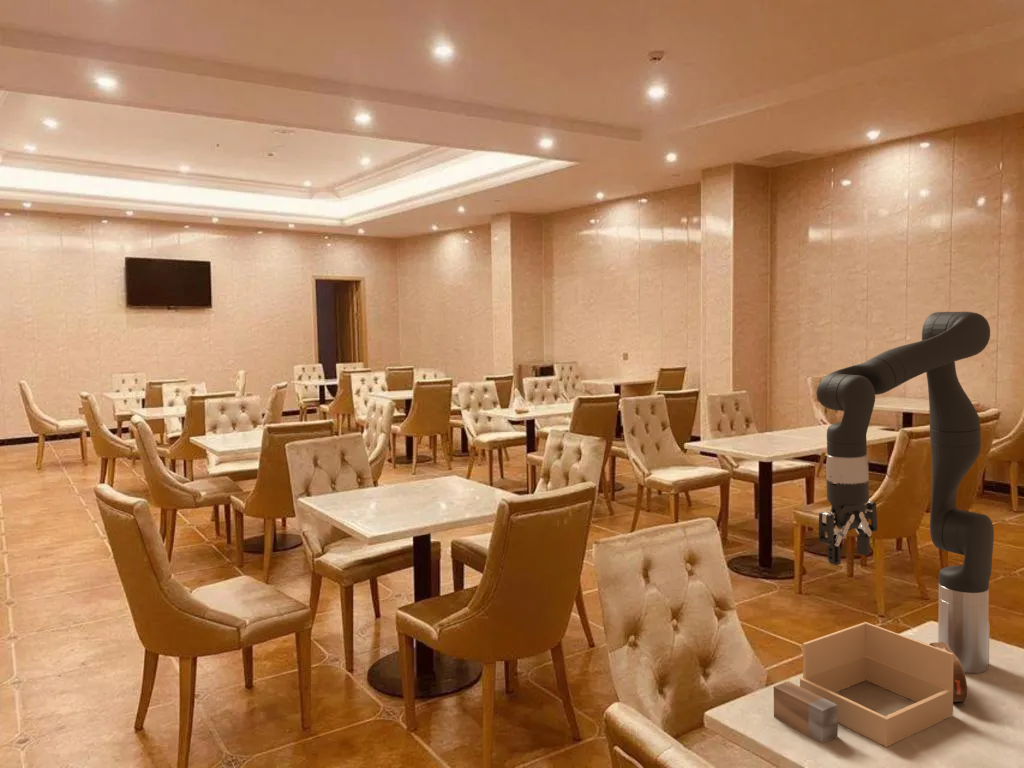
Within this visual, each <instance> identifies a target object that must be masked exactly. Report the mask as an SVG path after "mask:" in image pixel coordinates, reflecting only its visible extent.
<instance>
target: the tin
mask: <svg viewBox="0 0 1024 768" xmlns="http://www.w3.org/2000/svg"><path fill="white" fill-rule="evenodd" d="M928 645H931V646H934V647H936V648H939V649H942V650H945V651H948V652H950V653H953V652H952V651H951V649H950V648H949V647H948V646H947V644H946V643H945V642H938V641H937V642H930V643H929V644H928ZM953 654H954V653H953ZM967 698H968V684H967V677H966V672H964V670H963V667H962V665H961V663H960V661H959V659H958V658H957V657H956V656H955V654H954V655H953V703H955V702H956V703H957V702H960V703H965V702H966V701H967Z"/></svg>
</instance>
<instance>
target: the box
mask: <svg viewBox="0 0 1024 768" xmlns="http://www.w3.org/2000/svg"><path fill="white" fill-rule="evenodd" d="M773 718H775V719H777V720H778V719H779V721H781V722H782V723H783V724H786V725H788V726H789V727H792V728H793V729H795V730H797V731H799V732H801V733H802V734H804V735H806V736H808V737H810V738H812V739H814V740H816V741H817V742H819V743H822V744H825V743H827V742H829V741H831V740H833V739H836V738H837V737H838V736H839V735H838V734H839V733H838V730H839V729H838V724H839V723H838V722H837V704H835V703H833V702H831V701H829V700H827V699H825V698H822V697H820V696H818V695H816V694H814V693H812V692H810V691H808V690H806V689H804V688H802V687H800V685H797V684H795V683H793V682H791V681H789V680H788V681H785V682H783V683H780V684H776V685H774V686H773Z"/></svg>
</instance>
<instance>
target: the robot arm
mask: <svg viewBox="0 0 1024 768" xmlns="http://www.w3.org/2000/svg"><path fill="white" fill-rule="evenodd" d="M990 337H991V327H990V324H989V321H988V320H987V319H986V318H985V316H984V315H982V314H980V313H978V312H973V311H937V312H936V311H935V312H933V313H931V314H929V315H928V316H927V318H926V319H925V320H924V322H923V325H922V330H921V340H920V341H916V342H912V343H908V344H904V345H900V346H897V347H894V348H891V349H889V350H886V351H883V352H881V353H879V354H877V355H875V356H873V357H872V358H870V359H868V360H866V361H864V362H862V363H859V364H853V365H851V366H847V367H844V368H840V369H837V370H835V371H833V372H830V373H828V374H827V375H826V376H824V377H823V378H822V379H821V380H820V381H819V382H818V385H817V387H816V398H817V400H818V403H820V405H821V406H823V407H824V408H826V409H829V410H833V411H840V412H841V411H842V412H843V415H842V419H841V421H840V422H836V423H831V424H830V425H829V426H828V428H827V430H826V463H825V477H826V478H825V479H826V484H825V485H826V500H827V501H828V502H829V503H830V505H831V508H830V511H828V512H825V511H819V513H818V542H819V543H821V544H826V546H827V561H828V563H829V564H832V565H835V566H838V565H841V562H842V560H841V559H842V558H841V554H842V553H841V545H840V544H841V542H842V539H843V537H846V536H847V534H848V532H850V531H851V530H853V529H854V530H855V532H856V533H857V535H856V548H857V549H856V551H857V553H858V554H859V555H862V556H869V555H870V550H871V546H870V545H871V541H870V539H871V538H870V537H871V536H872V533H874V532H877V531H878V527H879V526H878V515H877V503H876V502H875V501H870V483H869V482H870V480H869V479H870V477H869V462H868V461H869V460H868V453H867V452H868V451H867V444H868V443H867V432H868V428H869V426H870V422H871V417H872V414H873V410H874V406H875V403H876V396H879V395H882V394H885V393H887V392H889V391H891V390H893V389H895V388H897V387H899V386H901V385H902V384H904V383H906V382H908V381H910V380H911V379H914V378H916V377H918V376H920V375H923V374H925V373H926V379H927V388H928V389H927V391H928V392H927V393H928V407H929V437H930V438H929V441H930V442H929V443H930V454H931V455H930V456H931V499H930V514H929V515H930V516H929V517H930V518H929V520H930V521H929V534H930V540H931V541H932V543H933V545H934V546H935V547H936V548H937V549H938V550H941V551H945V552H949V553H952V554H953V553H954V554H957V555H962V556H964V557H963V564H959V565H949V566H945V567H943V568H941V569H940V570H939V572H938V626H937V627H938V628H937V629H938V630H937V631H938V633H937V634H938V635H937V636H938V637H937V642H945V643H946V644H947V646H948V647H949V648H950V649H951V651H952V652H953V653H954V654H955V656H956V657H957V658H958V659H959V661H960V663H961V665H962V667H963V670H964V673H965V674H966V673H967V674H968V673H969V674H975V673H976V674H977V673H979V674H980V673H983V672H985V671H987V670H988V665H989V663H990V630H991V629H990V626H991V624H990V620H989V609H990V608H989V605H990V604H989V602H990V601H989V600H990V599H989V598H990V597H989V595H990V594H989V593H990V591H989V589H990V579H991V574H992V571H993V570H992V569H993V567H992V566H993V553H994V541H995V540H994V539H995V531H994V529H995V528H994V525H993V521H992V519H991V518H990V517H989V516H988V515H986V514H984V513H983V514H982V513H980V512H974V511H970V510H969V511H968V510H963V509H959V508H958V507H957V495H958V489H959V486H960V484H961V482H962V480H963V479H964V477H965V476H966V475H967V473H968V472H969V471H970V470H971V469H972V467H973V465H974V464H975V463H976V461H977V459H978V457H979V455H980V454H981V449H982V438H981V437H982V435H981V431H982V430H981V420H980V416H979V413H978V412H977V409H976V407H975V406H974V404H973V403H972V401H971V399H970V397H969V396H968V394H967V393H966V391H965V390H964V389H963V387H962V385H961V382H960V380H959V378H958V375H957V370H956V369H957V368H956V361H961V360H964V359H968V358H971V357H974V356H976V355H977V356H978V355H979V354H981V352H983V351H984V350H985V349H986V348H987V346H988V345H989V341H990V340H991V339H990ZM869 520H870V523H869ZM836 527H837V528H836ZM826 533H827V534H826ZM834 536H835V538H834Z"/></svg>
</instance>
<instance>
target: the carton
mask: <svg viewBox="0 0 1024 768" xmlns="http://www.w3.org/2000/svg"><path fill="white" fill-rule="evenodd" d="M953 655H954V654H953V653H950V652H948V651H945V650H942V649H939V648H936V647H934V646H931V645H929V644H927V643H924V642H921V641H919V640H918V639H917V640H916V639H914V638H910V637H908V636H906V635H903V634H900V633H897V632H894V631H892V630H890V629H886V628H884V627H881V626H877V625H875V624H872V623H870V622H866V621H863V622H861V623H858V624H855V625H852V626H849V627H847V628H843V629H840V630H839V631H835V632H832V633H829V634H825V635H823V636H820V637H817V638H815V639H812V640H808V641H805V642H803V643H802V677H800V678H799V687H802V688H804V689H806V690H808V691H810V692H812V693H814V694H816V695H818V696H820V697H822V698H825V699H827V700H829V701H831V702H833V703H835V704H837V722H838V724H840V725H842V726H844V727H846V728H848V729H850V730H851V731H854V732H856V733H858V734H859V735H862V736H864V737H866V738H868V739H870V740H872V741H874V742H876V743H878V744H880V745H882V746H883V747H886V748H888V747H889V746H891V745H894V744H896V743H898V742H900V741H902V740H905V739H906V738H909V737H911V736H912V735H915V734H916V733H919V732H921V731H922V730H923V731H924V730H926V729H927V728H930V727H932V726H934V725H935V724H937V723H940V722H942V721H944V720H943V719H945V720H947V719H949V718H951V717H952V716H954V713H953V712H954V702H953ZM866 681H867V682H868V683H871V684H874V685H876V686H878V687H881V688H882V689H886V690H887V691H891V692H893V693H895V694H897V695H900V696H902V697H904V698H906V699H908V698H909V699H908V700H910V699H911V700H910V701H912V702H913V701H914V703H912V704H910V705H907V706H905V707H904V708H901V709H898V710H897V711H893V712H892V713H889V714H887V715H884V714H881V713H879V712H877V711H875V710H872V709H871V708H868V707H866V706H864V705H862V704H860V703H858V702H856V701H855V700H854V701H853V700H851V699H849V698H847V697H845V696H843V695H841V694H838V692H840V691H842V690H845V689H847V688H849V687H852V686H855V685H857V684H860V683H862V682H866ZM950 716H951V717H950ZM948 717H949V718H948ZM946 718H947V719H946Z"/></svg>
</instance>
